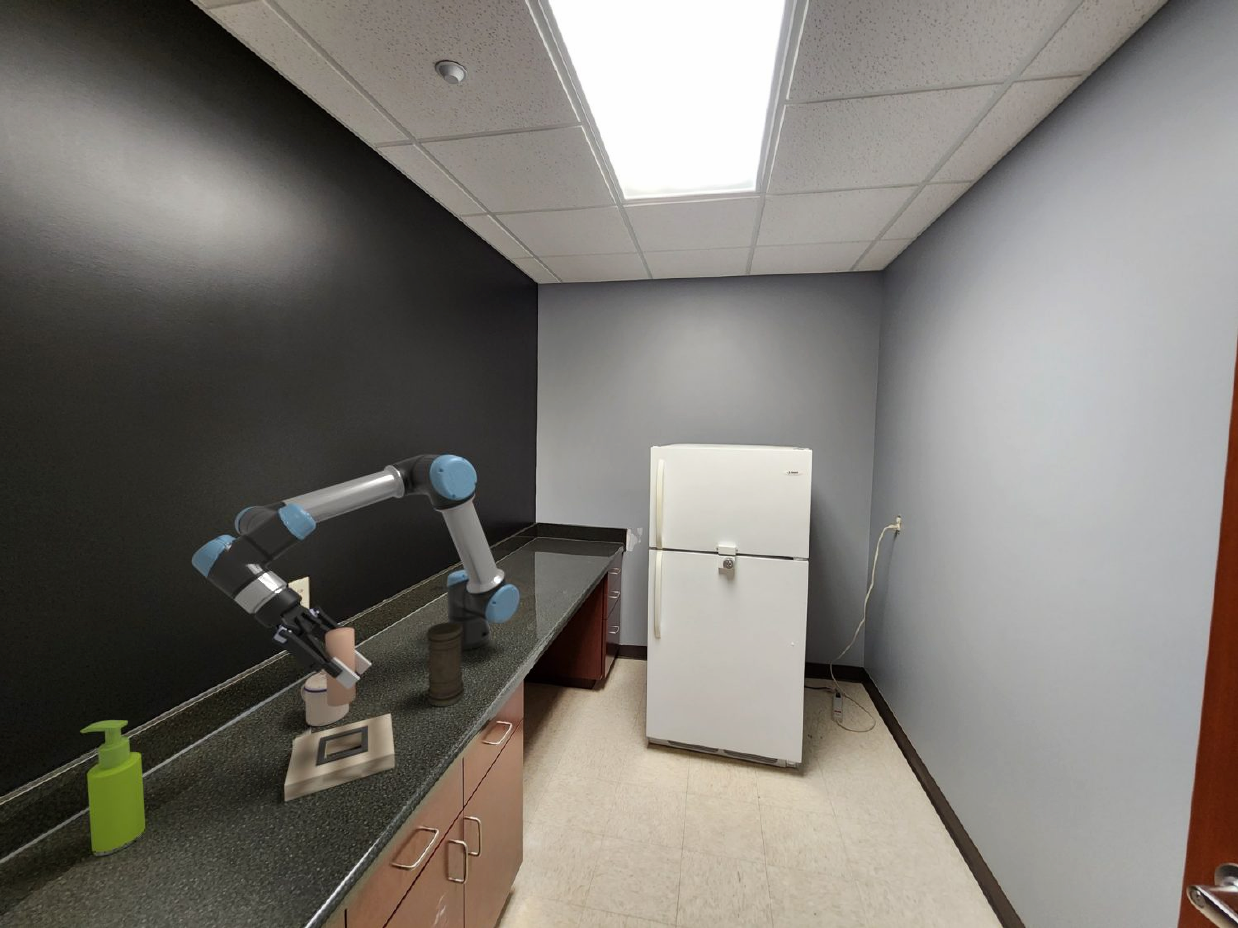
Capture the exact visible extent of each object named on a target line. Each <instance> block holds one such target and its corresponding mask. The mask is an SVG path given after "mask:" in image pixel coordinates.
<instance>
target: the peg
mask: <svg viewBox="0 0 1238 928" xmlns="http://www.w3.org/2000/svg"><path fill="white" fill-rule="evenodd" d="M325 642H326V644H325V651H326V652H327V653H328V654H329V656H330V657H331V660H332V659H333V658H334V657H336V658H337V659H339V660H340V661H341V662H342V663H343V664H344V665H346V666H347V667H348V668H349V669H350V670H352V671H353V672H354V673H355V674H356V670H355V650H356V649H355V629H354V628H353V627H341V628H338V629H334V630H332V631H329V632H328V633H326V635H325ZM326 681H327V705H329V706H332V707H336V706H342V705H345V704H348V703H349V704H350V703H351V702H352V701H354V700H355V699H356V698H357V697H356V694H357V693H356V692H357V691H356V683H355V684H354V685H353V686H352V687H351V688H350V689H349V690H348V689H347V688H346V687H345V686H343V685H342V684H341V683H340V682H339V681H338V680H336V679H335V678H333V677H332V676H331V675H329V674H328V673H327V672H326Z"/></svg>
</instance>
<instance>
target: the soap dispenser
mask: <svg viewBox="0 0 1238 928" xmlns="http://www.w3.org/2000/svg"><path fill="white" fill-rule="evenodd" d="M128 722H129V721H128V720H121V719H120V720H117V719H116V720H115V719H110V720H103V721H102V720H101V721H96V722H94V723H91V724H90V725H88V726H86V727H85V728H83V729H81V730H80V731H79V732H80V733H82V734H85V733H89V732H91V733H92V732H104V735H105V736H104V738H105V742H104V743H101V745H100V746H99V747H98V748H97V754H98V763H97V764H95V765H94V766H93V767H91V768H90V769H89V770H88V772H87V774H86V775H87V789H88V790H87V793H88V807H89V808H88V809H89V822H90V838H91V852H92V851H96V852H104V851H109V850H112V849H115V848H118V847H119V846H123V845H124V844H125V843H128V842H130V841H132V840H134V838H136V837H138V836H139V835H140V834H141V833H142V832H143V831H144V829H145V830H146V819H145V815H146V814H145V801H144V798H145V797H144V782H143V779H144V778H143V765H142V754H141V753H140V752H136V751H131V748H130V739H129V737H126V736H122V728H124V727H125V726H127V725H128Z"/></svg>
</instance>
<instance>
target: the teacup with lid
mask: <svg viewBox="0 0 1238 928" xmlns="http://www.w3.org/2000/svg"><path fill="white" fill-rule="evenodd" d="M300 695H301V698H302V699H303V701H304V702H305V720H306V723H307V724H308V725H310V726H312V727H313V726H314V727H323V726H326V725H327V726H328V725H331V724H333V723H336V722H338V721H340V720H341V719H342V718H344V717H346V715H347V714H348V713H349V710H350V703H348V704H345V705H342V706H336V707H332V706H329V705H327V681H326V671H324V670H323V669H321V671H319V672H317V673H316V674H313V675H312V676H310V677H309V678H308V679H306V681H305V683H303V685H302V686H301V688H300Z"/></svg>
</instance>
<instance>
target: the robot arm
mask: <svg viewBox="0 0 1238 928" xmlns="http://www.w3.org/2000/svg"><path fill="white" fill-rule="evenodd" d="M477 482H478V477H477V473H476V470H475V468H474V466H473V465H472V464H471V463H470V461H468V460H467V459H465V458H463V457H461V456H457V455H453V454H428V453H426V454H421V455H415V456H414V457H411V458H407V459H405V460H401V461H399V462H395V463H392V464H389V465H386V466H385V467H384V469H383V470H381V471H377V472H375V473H372V474H368V475H364V476H361V477H358V478H354V479H351V480H348V481H344V482H341V483H338V484H334V485H330V486H328V487H324V488H321V489H317V490H314V491H311V492H308V493H304V494H300V495H298V496H294V497H291V498H288V499H284V500H281V501H278V502H274V503H271V504H267V505H264V506H263V505H262V506H261V505H256V506H255V505H254V506H250V507H247V508H245V509H242V510H241V511H240V512H239V513H238V514H237V515H236V518H235V520H234V529H235V530H236V532H237V533H238V534H239V535H241V536H239V537H237V538H235V537H232V536H231V535H230V534H223V535H219V536H217V537H216V538H214V539H213V540H210V541H208V542H207V543H206V544H204V545H203V546H201V547H200V548H199V549H198V550H197V551H196V552H195V553H194V554H193V556H192V559H191V564H192V566H193V567H194V568H195V569H196V570H198V571H199V572H200V573H201V574H202V575H203V576H204V577H205V578H206V579H207V580H208V581H210V582H211V583H212V584H213V585H215V587H217V588H218V589H219V590H220V591H222V592H223V593H225V594H226V595H227V596H228V597H230V598H231V599H232V600H233V601H234V602H236V603H237V604H239V606H241V607H242V608H243V609H244V610H245V611H246V613H248V614H253V615H254V617H253V618H254V619H255V620H256V621H258V622H259V623H260V624H261V625H263V626H264V627H265V628H268V629H269V628H272V627H274V629H275V630H276V631H277V632H276V634H275V635H274V636H273V637H272V638H271V639H270V641H271V642H272V644H273V643H274V644H275V645H277V646H279V647H282V649H284V650H285V651H286V652H287V653H288V654H289V655H291V656H292V657H293V658H294V659H295V660H297V662H298V663H300V664H301V665H302V666H303V667H305V668H306V669H307V670H308V671H310V672H311V673H313V672H315V673H320V672H321V671H322V669H323V670H324V671H326V672H327V673H328V674H329V675H331V676H332V677H333V678H335V679H336V680H338V681H339V682H340V683H341V684H342V685H343V686H345V687H346V688H347V689H348V690H349V689H350V688H351V687H352V686H353V685H354V684H355V685H356V683H357V682H358V681H359V680H360V679H361V677H360V676H358V675H357V673H358V674H359V675H363V673H364V672H366V670H368V669H369V668H370V667H371V666H372V663H371V662H370V660H368V659H367V658H366V657H365V656H363V655H362V654H361V653H360V652H358V650H357V649H355V673H354V672H353V671H352V670H350V669H349V668H348V667H347V666H346V665H344V664H343V663H342V662H341V661H340V660H339V659H337V658H336V657H334V658H333V659H332V660H331V657H330V656H329V654H328V653H327V652H326V649H325V647H323V646H322V645H321V644H320V643H319V641H320V642H322V643H323V644H325V645H326V642H325V635H326V633H328V632H329V631H332V630H334V629H338V628H342V627H341V625H340V624H338V623H337V622H336V621H335V620H333V619H332V618H331V617H330V616H329V615H327V614H326V613H325V612H324V610H323V609H322V608H321V606H319V605H315V606H314V607H313V608H311V609H309V607H306V606H304V605H302V604H301V603H302V601H303V596H301V595H300V594H299V593H298V592H296V590H294V588H292V587H290V586H289V587H288V586H287V585H288V584H287V582H286V581H284V580H283V579H282V578H281V577H280V576H278V575H277V573H274V571H272V570H271V569H270V568H268V567H267V566H268V565H269V564H271V563H272V562H273V561H275V560H276V559H277V558H279V557H280V556H281V555H283V554H284V553H286V552H288V550H290V549H292V547H294V546H295V545H296V544H298V543H299V542H300V541H302V540H304V539H306V537H307V536H308V535H310V534H311V533H312V532H313V531H314V530H315V529H316V525H317V523H320V522H323V521H326V520H329V519H331V518H334V517H338V516H340V515H343V514H345V513H349V512H352V511H355V510H358V509H360V508H363V507H366V506H369V505H371V504H376V503H378V502H381V501H384V500H386V499H389V498H392V497H394V498H396V499H401V498H404V497H406V496H411V495H425V496H428V498H429V500H430V502H431V505H432V507H433V509H434V510H435V511H437V512H438V513H441V514H442V517H443V519H444V521H445V524H446V526H447V528H448V531H449V532H448V533H450V536H451V539H452V541H453V543H454V546H455V548H456V549H455V550H457V551H456V552H457V553H458V556H459V558H460V561H461V563H462V566H463V569H460V570H456V571H454V572H451V573H450V574H449V575H448V576H447V581H446V594H447V595H446V599H447V602H446V603H447V620H446V623H447V622H453V623H458V624H460V625H461V626H462V632H461V651H467V650H472V649H477V648H479V647H482V646H483V645H486V644H487V643H488V642H489V641H490V640H491V637H492V634H491V633H492V631H491V628H490V625H489V622H490V623H496V624H498V623H499V624H501V623H504V622H506V621H508V620H509V619H510V618H511V617H512V616H513V615H514V614H515V612H516V610H517V607H518V605H519V603H520V593H519V590H518V588H517V587H516V586H515V585H513V584H511V583H510V584H509V582H508V579H507V577H506V576H507V575H506V574H505V572H504V570H502V568H501V569H500V568H497V567H498V566H497V565H496V562H495V559H494V557H493V554H492V551H491V549H490V546H489V543H488V541H487V538H486V534H485V532H484V530H483V527H482V525H481V522H480V519H479V517H478V514H477V511H476V508H475V506H474V503H473V500H474V499H475V497H476V493H475V489H476V484H477ZM356 672H357V673H356Z"/></svg>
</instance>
